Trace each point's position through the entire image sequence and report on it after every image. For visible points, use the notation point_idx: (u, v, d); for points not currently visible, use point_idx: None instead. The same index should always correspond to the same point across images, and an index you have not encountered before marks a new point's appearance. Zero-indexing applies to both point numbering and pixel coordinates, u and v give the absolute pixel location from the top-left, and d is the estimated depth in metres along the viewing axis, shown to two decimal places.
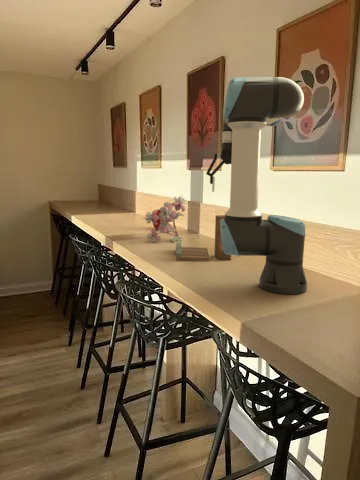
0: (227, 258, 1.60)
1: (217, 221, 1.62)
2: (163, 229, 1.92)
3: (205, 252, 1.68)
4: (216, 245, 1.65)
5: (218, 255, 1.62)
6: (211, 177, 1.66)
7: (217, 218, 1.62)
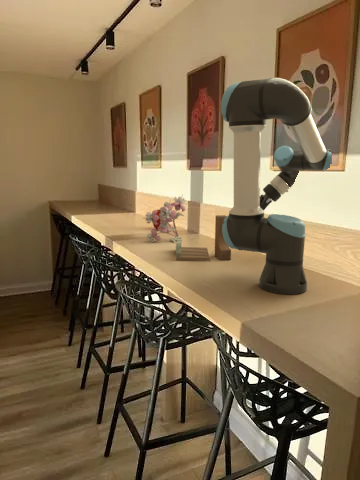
0: (227, 258, 1.60)
1: (217, 221, 1.62)
2: (163, 229, 1.92)
3: (205, 252, 1.68)
4: (216, 245, 1.65)
5: (218, 255, 1.62)
6: None
7: (217, 218, 1.62)
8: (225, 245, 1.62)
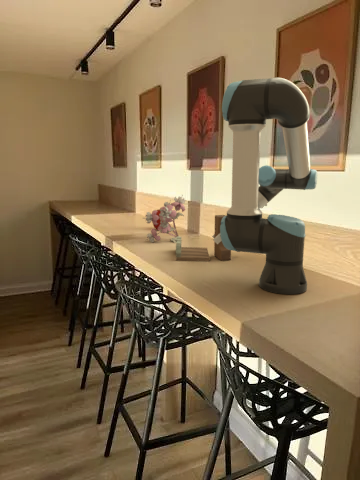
0: (227, 258, 1.59)
1: (216, 221, 1.61)
2: (163, 229, 1.92)
3: (205, 252, 1.68)
4: (216, 245, 1.64)
5: (218, 255, 1.62)
6: None
7: (216, 218, 1.61)
8: None
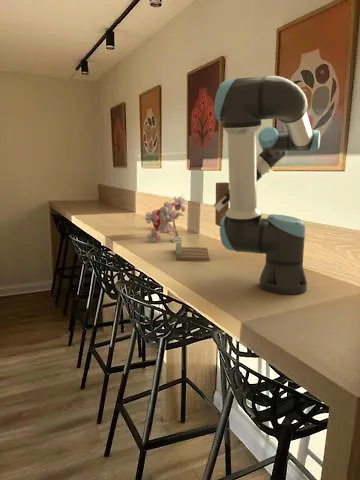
0: None
1: (217, 188, 1.58)
2: (163, 229, 1.92)
3: (205, 252, 1.68)
4: (217, 213, 1.60)
5: (219, 223, 1.58)
6: None
7: (217, 185, 1.58)
8: None
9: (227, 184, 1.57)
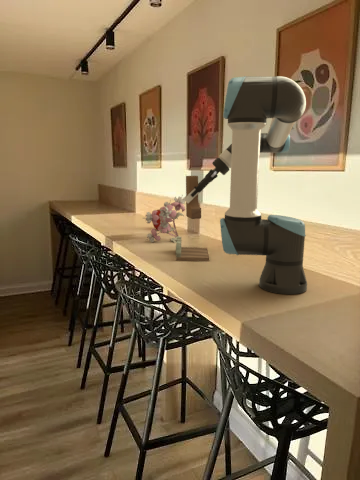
0: (197, 217, 1.62)
1: (187, 181, 1.64)
2: (163, 229, 1.92)
3: (205, 252, 1.68)
4: (187, 205, 1.67)
5: (189, 214, 1.64)
6: None
7: (187, 178, 1.64)
8: (195, 204, 1.64)
9: (196, 177, 1.63)
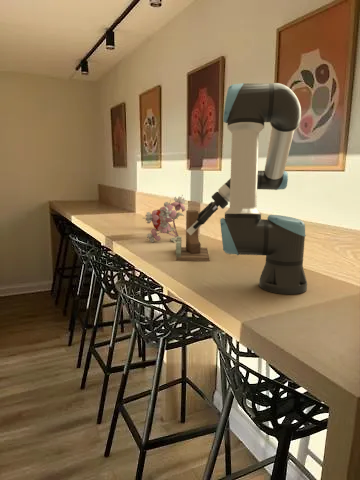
0: (197, 251, 1.65)
1: (187, 216, 1.67)
2: (163, 229, 1.92)
3: (205, 252, 1.68)
4: (187, 239, 1.69)
5: (188, 249, 1.67)
6: None
7: (187, 213, 1.67)
8: (195, 239, 1.67)
9: (196, 212, 1.66)
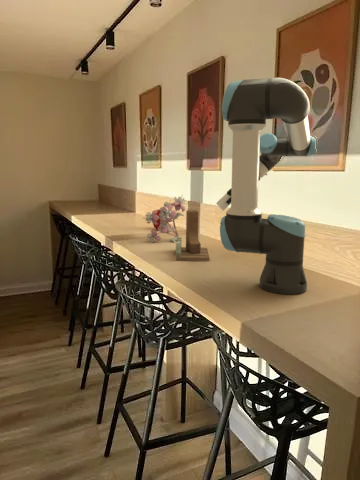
0: (197, 251, 1.65)
1: (187, 216, 1.67)
2: (163, 229, 1.92)
3: (205, 252, 1.68)
4: (187, 239, 1.69)
5: (188, 249, 1.67)
6: None
7: (187, 213, 1.67)
8: (195, 239, 1.67)
9: (196, 212, 1.66)
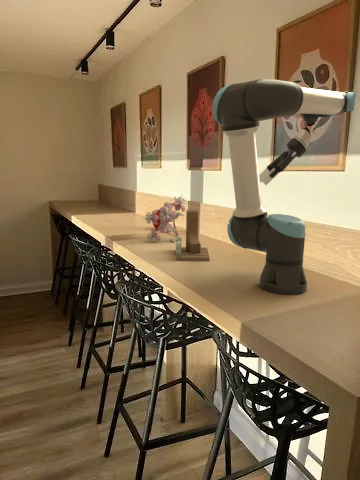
0: (197, 251, 1.65)
1: (187, 216, 1.67)
2: (163, 229, 1.92)
3: (205, 252, 1.68)
4: (187, 239, 1.69)
5: (188, 249, 1.67)
6: None
7: (187, 213, 1.67)
8: (195, 239, 1.67)
9: (196, 212, 1.66)
